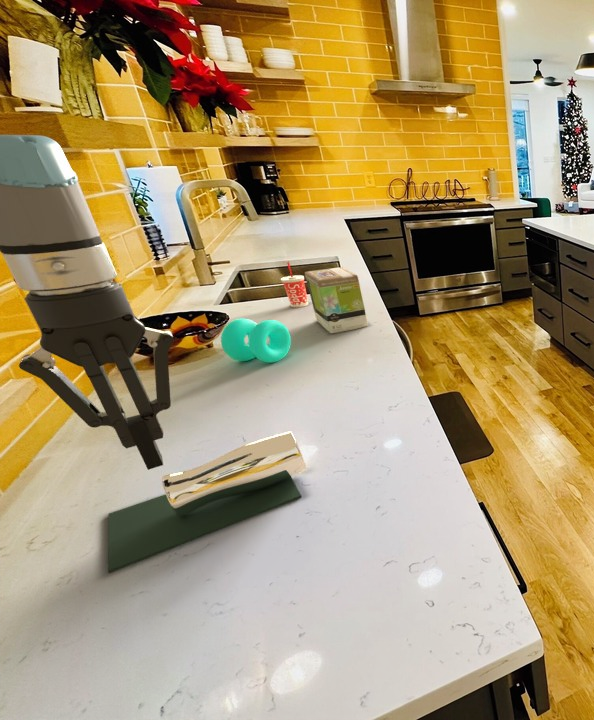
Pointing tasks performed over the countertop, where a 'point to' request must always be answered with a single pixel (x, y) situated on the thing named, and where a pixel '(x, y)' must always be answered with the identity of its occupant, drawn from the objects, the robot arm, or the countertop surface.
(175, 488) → the beer glass
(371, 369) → the countertop surface
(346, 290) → the tea box
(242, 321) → the donuts
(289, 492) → the mat
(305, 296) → the beverage cup
